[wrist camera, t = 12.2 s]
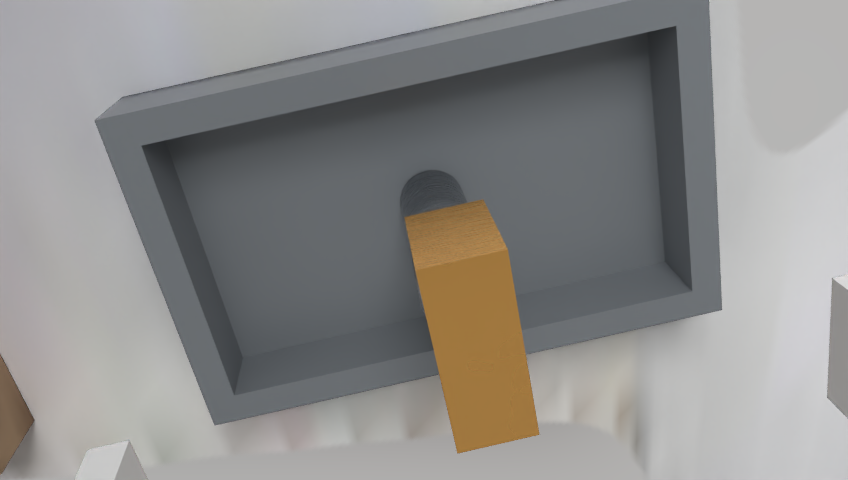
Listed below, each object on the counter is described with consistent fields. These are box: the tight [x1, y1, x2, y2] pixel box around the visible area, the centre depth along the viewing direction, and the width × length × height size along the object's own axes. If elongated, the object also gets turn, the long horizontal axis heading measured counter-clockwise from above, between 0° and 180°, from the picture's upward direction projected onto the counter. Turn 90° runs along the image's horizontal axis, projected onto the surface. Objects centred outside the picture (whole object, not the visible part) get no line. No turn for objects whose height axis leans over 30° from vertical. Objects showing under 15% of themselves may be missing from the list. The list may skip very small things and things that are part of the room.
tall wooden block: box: [400, 170, 539, 453], centre depth 21 cm, size 5×2×10 cm, turn 11°
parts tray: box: [95, 0, 722, 425], centre depth 25 cm, size 11×18×3 cm, turn 102°
